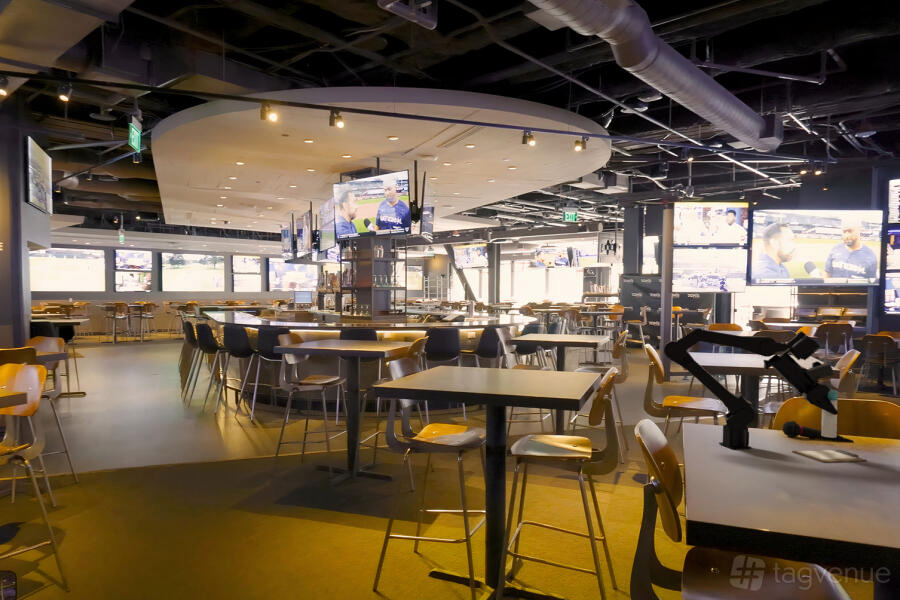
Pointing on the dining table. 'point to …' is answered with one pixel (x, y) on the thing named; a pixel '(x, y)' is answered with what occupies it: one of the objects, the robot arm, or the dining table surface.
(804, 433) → the microphone
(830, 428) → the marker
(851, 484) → the dining table surface
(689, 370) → the robot arm
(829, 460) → the clipboard
